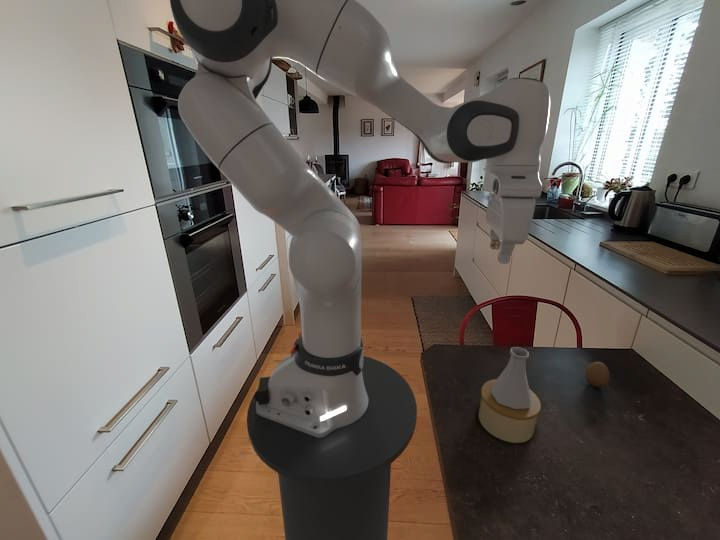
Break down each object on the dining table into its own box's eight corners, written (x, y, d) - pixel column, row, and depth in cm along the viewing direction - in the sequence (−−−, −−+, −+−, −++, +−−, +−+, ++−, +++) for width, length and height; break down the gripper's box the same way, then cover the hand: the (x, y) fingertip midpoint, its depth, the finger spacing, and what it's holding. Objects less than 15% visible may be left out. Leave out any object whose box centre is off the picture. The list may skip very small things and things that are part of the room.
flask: (487, 381, 66) (494, 338, 62) (526, 386, 64) (535, 343, 61) (493, 407, 59) (502, 361, 56) (536, 413, 58) (548, 366, 54)
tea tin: (480, 438, 60) (485, 412, 58) (474, 399, 70) (478, 375, 68) (542, 448, 58) (548, 422, 56) (526, 407, 68) (532, 382, 65)
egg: (610, 392, 72) (618, 369, 70) (590, 391, 72) (597, 369, 70) (597, 378, 76) (604, 357, 74) (578, 378, 76) (584, 356, 74)
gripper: (483, 177, 69) (475, 241, 73) (501, 186, 50) (489, 270, 55) (515, 178, 68) (505, 242, 72) (546, 187, 49) (529, 273, 53)
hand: (498, 255), depth 63 cm, fingers open, 8 cm apart
